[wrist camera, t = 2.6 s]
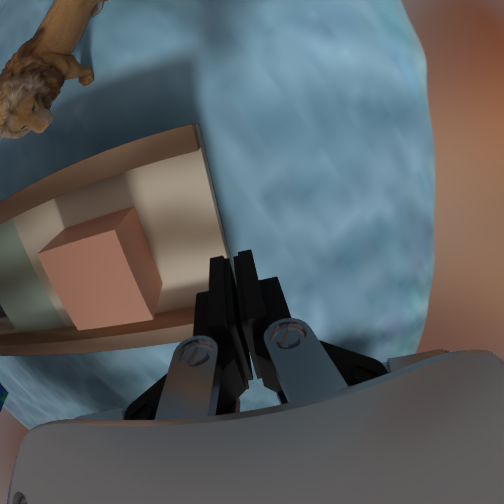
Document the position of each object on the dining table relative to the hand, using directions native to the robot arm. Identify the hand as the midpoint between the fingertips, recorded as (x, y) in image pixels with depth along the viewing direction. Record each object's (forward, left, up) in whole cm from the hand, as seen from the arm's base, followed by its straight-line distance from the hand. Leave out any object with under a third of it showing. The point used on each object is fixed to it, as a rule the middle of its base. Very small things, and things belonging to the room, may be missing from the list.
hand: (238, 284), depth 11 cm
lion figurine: (+15, +7, -11) cm, 20 cm away
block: (0, +9, -7) cm, 11 cm away
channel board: (0, +18, -10) cm, 21 cm away
